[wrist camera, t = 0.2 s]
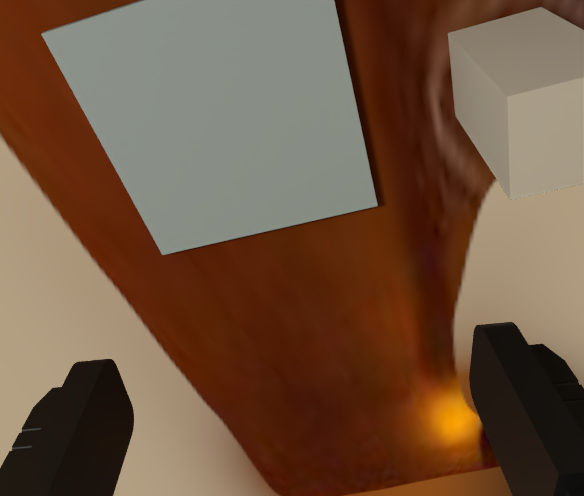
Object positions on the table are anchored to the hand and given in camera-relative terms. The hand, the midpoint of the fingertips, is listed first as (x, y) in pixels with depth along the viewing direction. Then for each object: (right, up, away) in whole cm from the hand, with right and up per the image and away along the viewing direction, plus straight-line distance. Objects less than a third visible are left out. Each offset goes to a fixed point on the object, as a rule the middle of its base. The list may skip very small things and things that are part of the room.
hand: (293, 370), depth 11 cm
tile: (-4, +10, +20) cm, 23 cm away
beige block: (+12, +13, +18) cm, 25 cm away
